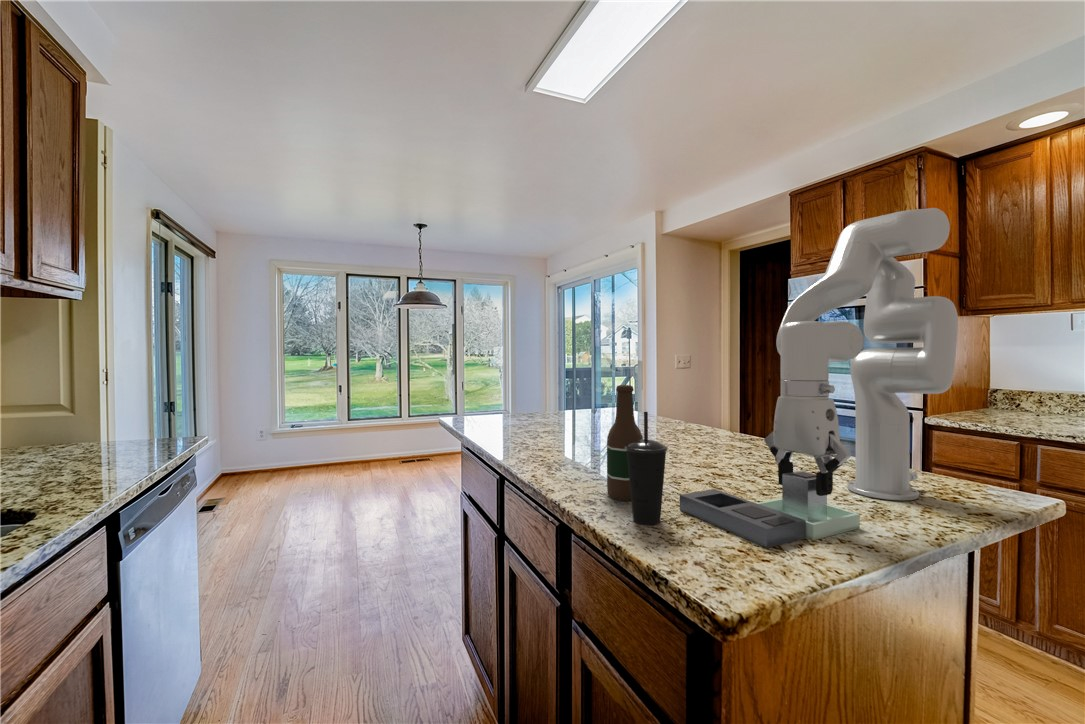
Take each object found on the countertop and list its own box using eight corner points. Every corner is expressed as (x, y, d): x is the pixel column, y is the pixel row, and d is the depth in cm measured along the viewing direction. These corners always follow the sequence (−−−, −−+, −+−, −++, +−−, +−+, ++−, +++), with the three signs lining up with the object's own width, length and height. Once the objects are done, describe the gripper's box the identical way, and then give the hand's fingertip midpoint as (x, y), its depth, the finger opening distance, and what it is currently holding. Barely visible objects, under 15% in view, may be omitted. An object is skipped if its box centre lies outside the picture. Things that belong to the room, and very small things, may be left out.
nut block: (801, 513, 86) (801, 469, 86) (826, 521, 82) (826, 475, 82) (782, 517, 84) (782, 472, 84) (807, 526, 80) (807, 479, 80)
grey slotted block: (714, 503, 94) (714, 488, 94) (805, 538, 76) (805, 519, 76) (679, 509, 90) (679, 494, 90) (767, 548, 72) (766, 528, 72)
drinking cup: (640, 510, 90) (639, 408, 90) (675, 520, 84) (675, 411, 84) (617, 520, 84) (616, 412, 84) (653, 531, 79) (652, 415, 79)
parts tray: (796, 508, 91) (796, 495, 91) (859, 528, 80) (859, 514, 80) (752, 517, 86) (752, 503, 86) (813, 540, 75) (813, 524, 75)
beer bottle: (644, 503, 95) (643, 386, 94) (606, 500, 96) (605, 386, 96) (643, 492, 102) (642, 384, 102) (608, 490, 104) (607, 384, 104)
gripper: (867, 392, 76) (868, 499, 76) (776, 386, 92) (776, 475, 92) (838, 394, 73) (838, 506, 73) (749, 388, 89) (749, 480, 89)
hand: (804, 488), depth 83 cm, fingers open, 6 cm apart
